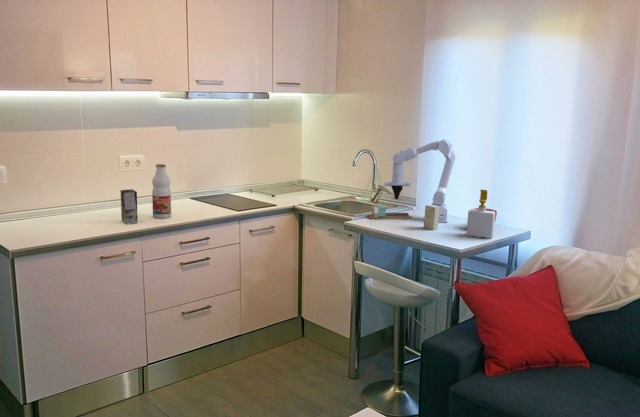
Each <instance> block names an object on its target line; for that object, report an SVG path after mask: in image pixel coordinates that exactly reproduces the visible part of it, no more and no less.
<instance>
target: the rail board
mask: <svg viewBox="0 0 640 417" xmlns="http://www.w3.org/2000/svg"><path fill="white" fill-rule="evenodd" d="M376 206H377V205H371V213H370V214H369V213H367V214H368V215H367V216H366V218H368V219H369V220H413V217H412V216H411V215H409V212H385V216H378V207H376Z"/></svg>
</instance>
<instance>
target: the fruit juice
mask: <svg viewBox="0 0 640 417" xmlns="http://www.w3.org/2000/svg"><path fill="white" fill-rule="evenodd" d="M155 168H156V171H155V173H154V176H153V178H152V179H151V180H152V181H151V183H152V184H151V185H152V187H153V188H152V191H151V194H152V195H151V196H152V199H151V200H152V202H151V203H152V217H153V219H158V220H159V219H160V220H162V219H163V220H164V219H170V218H171V217H172V191H171V188H170V186H171V179H170V177H169V176H168V174H167V171H166V168H167V166H166V164H164V163H163V164H162V163H161V164H160V163H159V164H155Z"/></svg>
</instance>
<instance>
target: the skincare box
mask: <svg viewBox="0 0 640 417" xmlns="http://www.w3.org/2000/svg"><path fill="white" fill-rule="evenodd" d="M424 206H425V208H424V216H423V217H424V219H423V229H425V230H429V231H435V230H438V228H439V222H438V219H439V209H440V206H435V205H432V204H425V205H424Z"/></svg>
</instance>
